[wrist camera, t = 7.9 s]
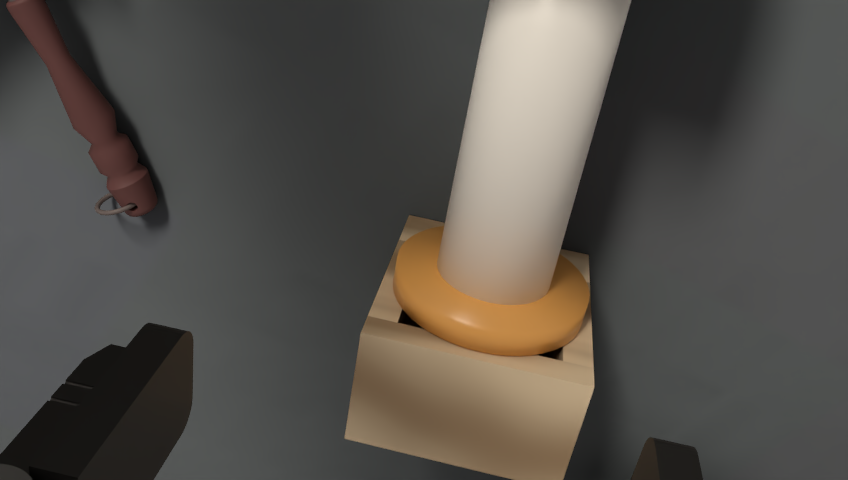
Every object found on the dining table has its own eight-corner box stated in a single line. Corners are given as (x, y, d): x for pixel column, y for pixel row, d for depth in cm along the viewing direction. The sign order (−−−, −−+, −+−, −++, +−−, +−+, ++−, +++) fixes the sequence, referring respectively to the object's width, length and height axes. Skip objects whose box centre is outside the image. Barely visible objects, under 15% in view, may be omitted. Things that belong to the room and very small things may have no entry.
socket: (409, 214, 33) (360, 332, 25) (588, 254, 33) (594, 387, 25) (393, 304, 35) (344, 438, 28) (561, 343, 35) (559, 490, 27)
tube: (496, -248, 24) (472, -272, 18) (725, -205, 23) (779, -216, 17) (402, 277, 33) (365, 378, 27) (567, 314, 32) (567, 426, 26)
